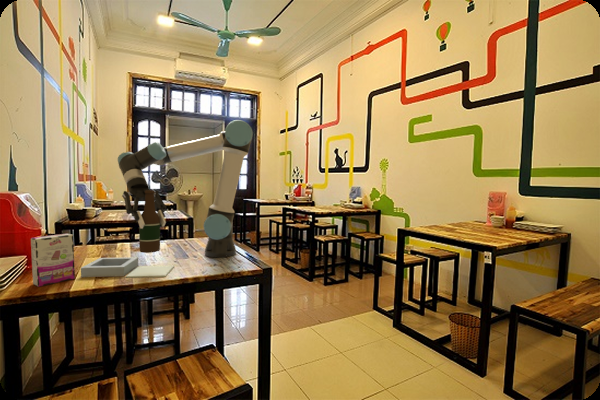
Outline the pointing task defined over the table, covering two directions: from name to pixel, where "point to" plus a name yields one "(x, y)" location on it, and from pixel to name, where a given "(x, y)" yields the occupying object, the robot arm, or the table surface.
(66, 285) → the table surface
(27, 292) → the table surface
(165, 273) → the mat
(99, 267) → the grey square tray
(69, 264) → the candy bar box
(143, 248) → the beer bottle
